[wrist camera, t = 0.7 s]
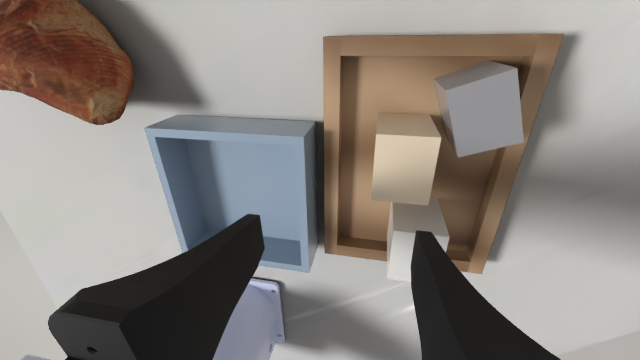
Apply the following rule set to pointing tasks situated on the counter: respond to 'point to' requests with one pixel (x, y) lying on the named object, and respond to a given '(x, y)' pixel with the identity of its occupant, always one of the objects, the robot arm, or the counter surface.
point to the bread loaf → (63, 59)
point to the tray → (420, 98)
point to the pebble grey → (411, 234)
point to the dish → (241, 181)
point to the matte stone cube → (480, 107)
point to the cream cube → (404, 158)
